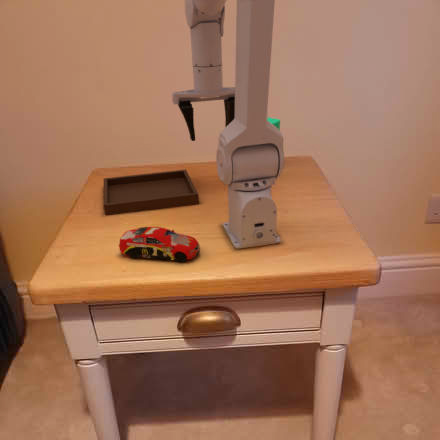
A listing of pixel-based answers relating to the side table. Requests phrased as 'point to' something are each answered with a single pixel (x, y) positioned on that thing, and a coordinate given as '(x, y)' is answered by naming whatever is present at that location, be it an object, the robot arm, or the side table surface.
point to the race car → (158, 244)
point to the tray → (148, 192)
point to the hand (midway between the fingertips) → (210, 138)
